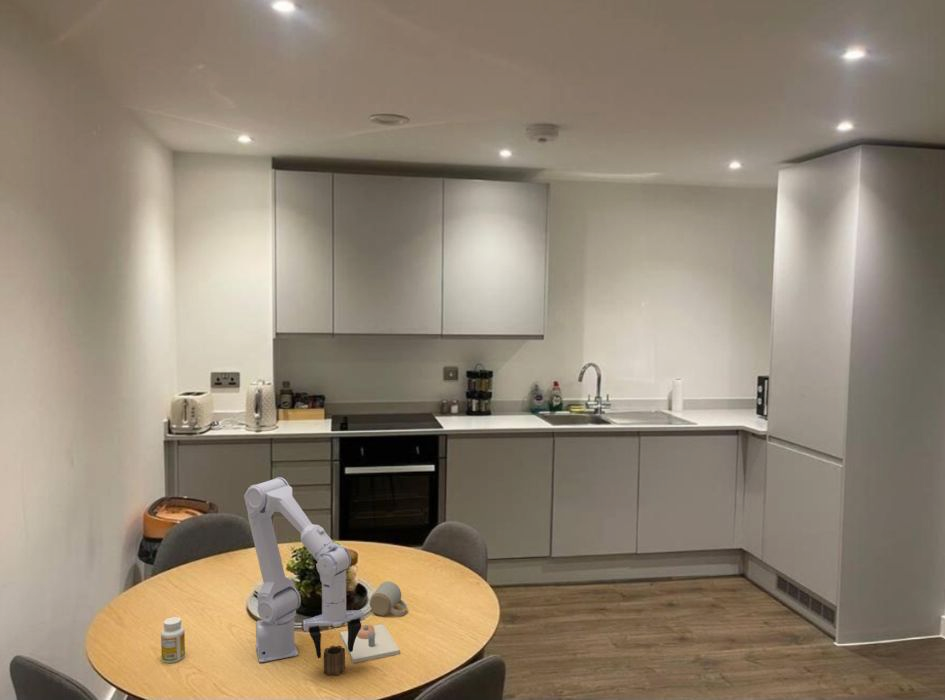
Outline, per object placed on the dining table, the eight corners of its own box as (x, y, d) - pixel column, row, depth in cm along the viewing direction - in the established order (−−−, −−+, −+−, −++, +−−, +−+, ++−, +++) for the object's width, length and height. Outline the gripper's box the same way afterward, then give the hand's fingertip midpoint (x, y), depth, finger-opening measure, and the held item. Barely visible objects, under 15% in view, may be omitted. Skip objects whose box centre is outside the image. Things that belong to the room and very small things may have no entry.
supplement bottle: (178, 650, 176) (177, 613, 175) (189, 657, 172) (188, 619, 172) (157, 658, 172) (156, 620, 171) (168, 666, 168) (167, 627, 167)
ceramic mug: (367, 615, 196) (368, 590, 196) (378, 603, 204) (378, 579, 203) (401, 620, 194) (401, 595, 193) (410, 608, 201) (411, 583, 201)
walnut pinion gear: (326, 677, 164) (326, 657, 163) (322, 667, 168) (322, 647, 168) (346, 673, 166) (346, 653, 165) (342, 663, 170) (342, 643, 170)
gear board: (353, 663, 170) (353, 647, 170) (340, 635, 184) (339, 621, 184) (399, 653, 175) (399, 638, 175) (383, 627, 189) (383, 613, 189)
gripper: (306, 610, 159) (307, 667, 160) (367, 600, 165) (368, 654, 166) (301, 598, 166) (302, 652, 167) (360, 588, 171) (360, 641, 172)
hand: (334, 653), depth 167 cm, fingers open, 7 cm apart
